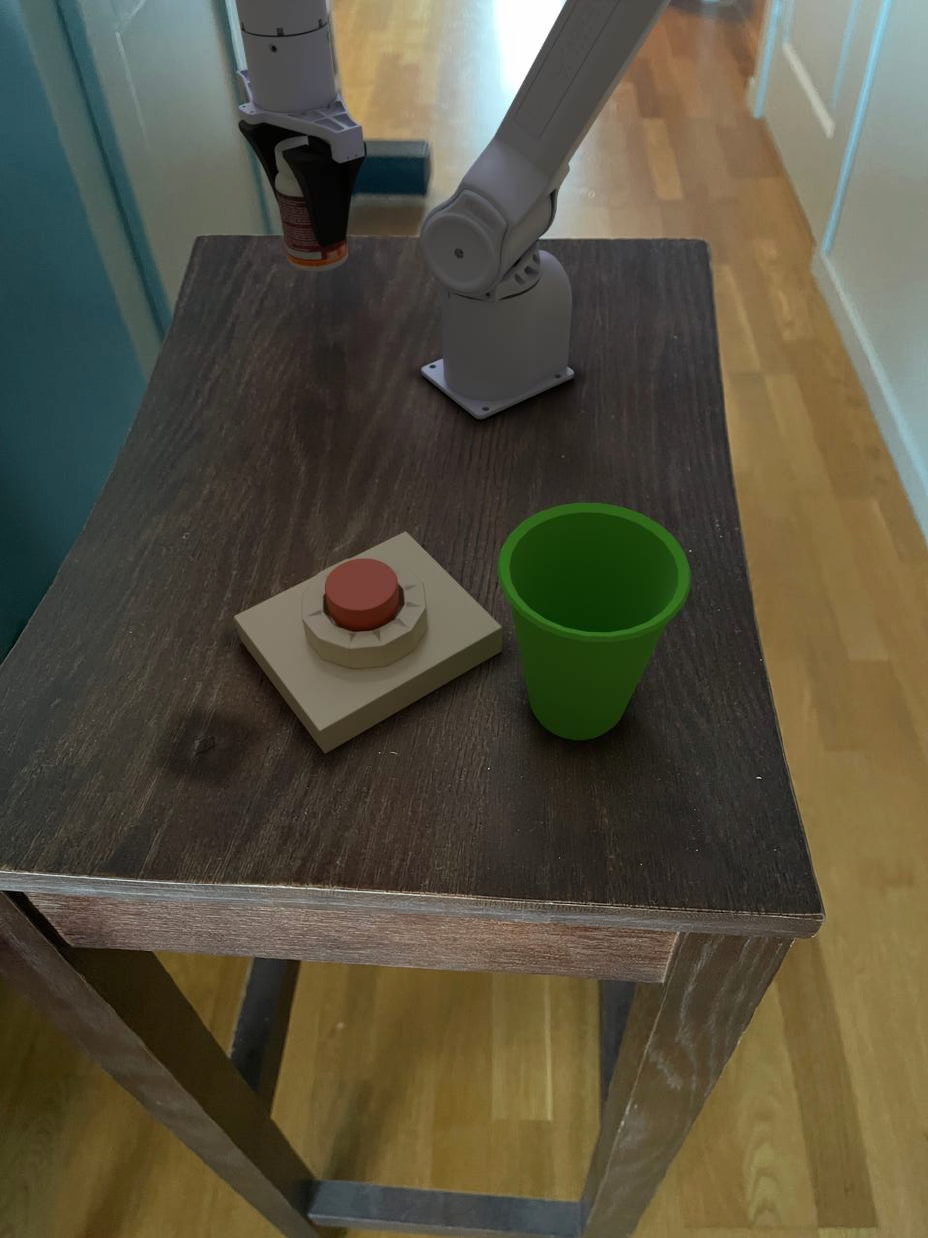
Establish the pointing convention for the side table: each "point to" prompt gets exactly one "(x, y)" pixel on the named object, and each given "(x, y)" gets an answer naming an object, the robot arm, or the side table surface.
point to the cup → (589, 609)
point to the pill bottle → (301, 220)
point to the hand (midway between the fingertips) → (314, 228)
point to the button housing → (368, 645)
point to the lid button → (362, 594)
